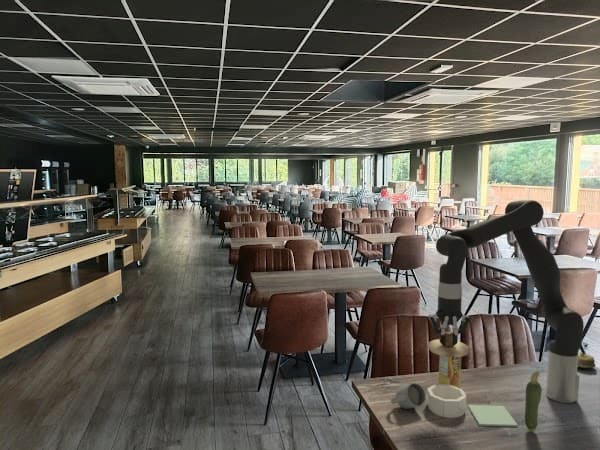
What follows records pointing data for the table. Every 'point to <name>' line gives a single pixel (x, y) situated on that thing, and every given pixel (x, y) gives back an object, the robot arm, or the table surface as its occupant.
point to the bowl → (446, 400)
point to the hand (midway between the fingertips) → (448, 344)
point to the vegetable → (532, 402)
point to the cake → (585, 361)
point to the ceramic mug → (410, 396)
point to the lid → (448, 347)
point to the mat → (492, 415)
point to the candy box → (450, 370)
